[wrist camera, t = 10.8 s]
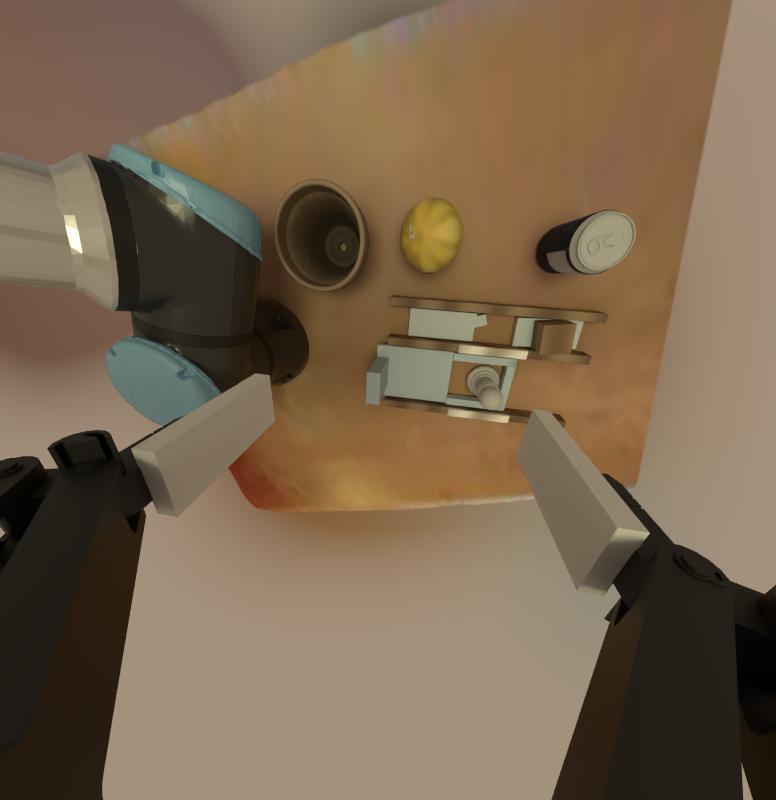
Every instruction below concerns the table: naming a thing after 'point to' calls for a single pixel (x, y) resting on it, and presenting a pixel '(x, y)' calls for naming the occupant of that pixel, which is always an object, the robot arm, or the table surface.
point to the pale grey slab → (426, 375)
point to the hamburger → (431, 235)
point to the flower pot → (320, 235)
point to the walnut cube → (553, 336)
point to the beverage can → (587, 244)
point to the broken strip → (469, 325)
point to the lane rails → (485, 351)
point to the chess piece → (485, 386)
